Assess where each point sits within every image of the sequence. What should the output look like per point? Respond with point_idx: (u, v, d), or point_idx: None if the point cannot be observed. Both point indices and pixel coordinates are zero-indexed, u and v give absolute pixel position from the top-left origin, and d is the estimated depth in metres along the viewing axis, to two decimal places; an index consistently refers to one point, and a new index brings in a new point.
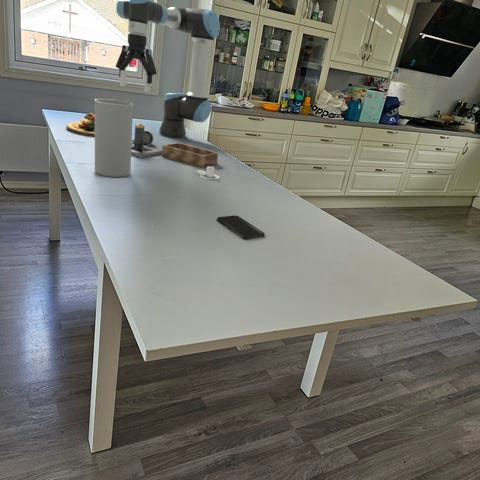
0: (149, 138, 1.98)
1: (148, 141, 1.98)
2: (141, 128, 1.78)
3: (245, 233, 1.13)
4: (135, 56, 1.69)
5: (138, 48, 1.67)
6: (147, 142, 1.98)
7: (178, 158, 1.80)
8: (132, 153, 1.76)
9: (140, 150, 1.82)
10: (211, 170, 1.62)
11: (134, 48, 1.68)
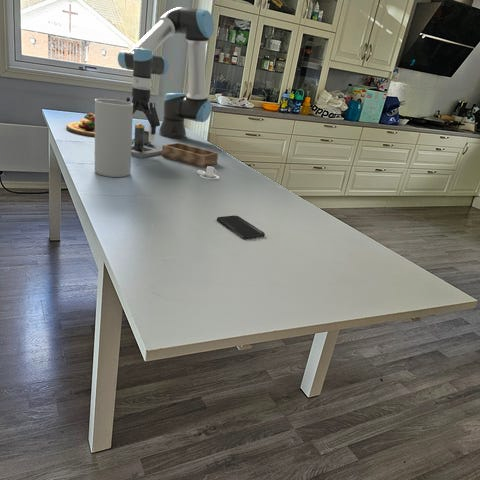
0: (148, 138, 1.98)
1: (147, 141, 1.98)
2: (141, 128, 1.78)
3: (245, 233, 1.13)
4: (139, 108, 1.75)
5: (142, 101, 1.74)
6: (146, 142, 1.98)
7: (178, 158, 1.80)
8: (132, 153, 1.76)
9: (140, 150, 1.82)
10: (211, 170, 1.62)
11: (138, 101, 1.74)
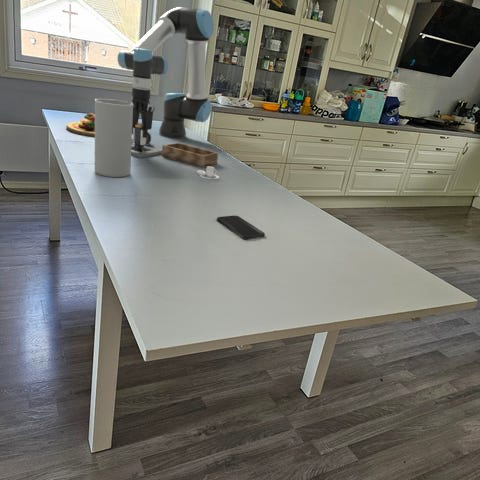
0: (147, 138, 1.98)
1: (146, 141, 1.98)
2: (141, 127, 1.78)
3: (245, 233, 1.13)
4: (139, 109, 1.75)
5: (143, 100, 1.73)
6: None
7: (178, 158, 1.80)
8: (132, 153, 1.76)
9: (141, 150, 1.82)
10: (211, 170, 1.62)
11: (137, 98, 1.74)
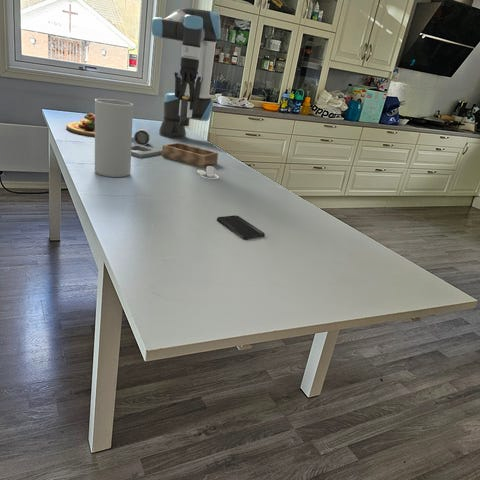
0: (145, 138, 1.97)
1: (144, 141, 1.98)
2: (188, 99, 1.72)
3: (245, 233, 1.13)
4: (187, 79, 1.70)
5: (192, 70, 1.68)
6: (143, 142, 1.98)
7: (178, 158, 1.80)
8: (132, 153, 1.76)
9: (187, 123, 1.76)
10: (211, 170, 1.62)
11: (186, 68, 1.69)
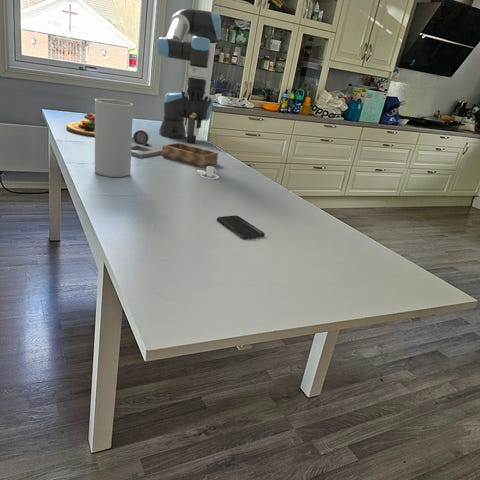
0: (144, 137, 1.97)
1: (143, 140, 1.98)
2: (195, 118, 1.75)
3: (245, 233, 1.13)
4: (194, 98, 1.73)
5: (199, 90, 1.71)
6: (142, 141, 1.98)
7: (178, 158, 1.80)
8: (132, 153, 1.76)
9: (194, 141, 1.79)
10: (211, 170, 1.62)
11: (193, 87, 1.72)
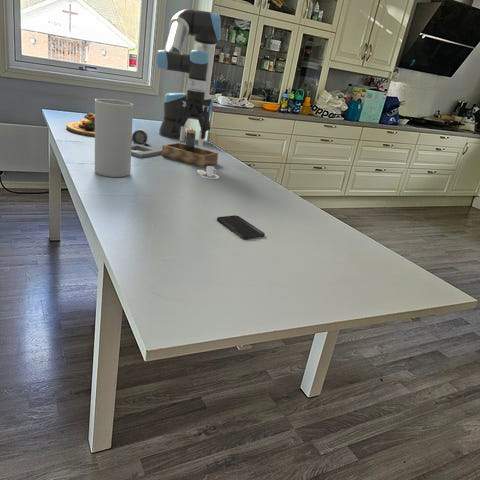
0: (143, 137, 1.97)
1: (142, 140, 1.98)
2: (193, 133, 1.78)
3: (245, 233, 1.13)
4: (193, 111, 1.75)
5: (197, 103, 1.73)
6: (141, 141, 1.98)
7: (178, 158, 1.80)
8: (132, 153, 1.76)
9: None
10: (211, 170, 1.62)
11: (192, 102, 1.74)
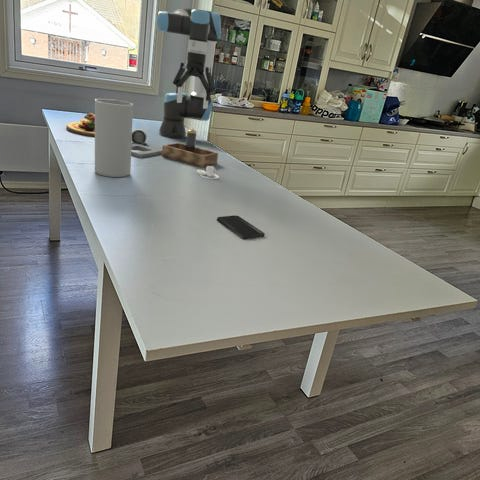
0: (142, 137, 1.97)
1: (141, 140, 1.98)
2: (193, 134, 1.78)
3: (245, 233, 1.13)
4: (194, 74, 1.72)
5: (198, 66, 1.70)
6: (140, 141, 1.98)
7: (178, 158, 1.80)
8: (132, 153, 1.76)
9: None
10: (210, 169, 1.63)
11: (193, 66, 1.71)
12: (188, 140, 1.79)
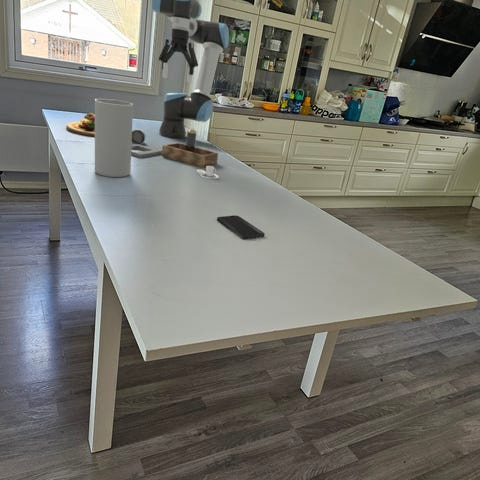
0: (141, 137, 1.97)
1: (140, 140, 1.97)
2: (193, 134, 1.78)
3: (245, 233, 1.13)
4: (178, 49, 1.83)
5: (181, 42, 1.81)
6: (139, 141, 1.97)
7: (178, 158, 1.80)
8: (132, 153, 1.76)
9: None
10: (210, 169, 1.63)
11: (177, 42, 1.82)
12: (188, 140, 1.79)
